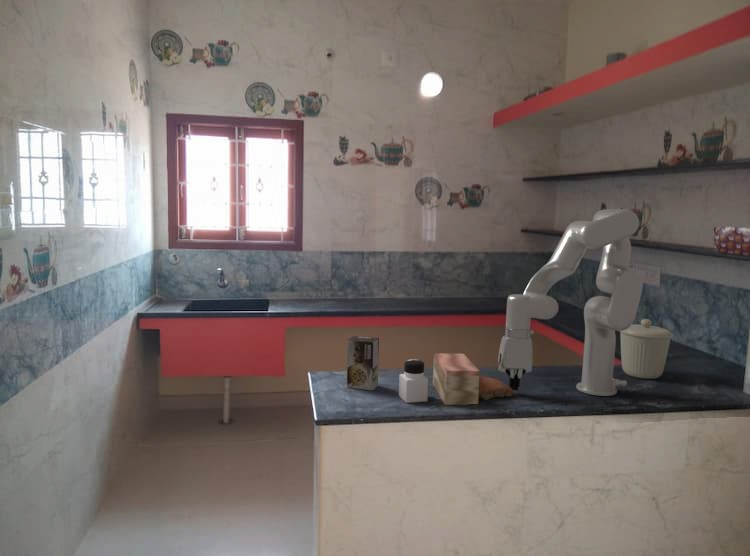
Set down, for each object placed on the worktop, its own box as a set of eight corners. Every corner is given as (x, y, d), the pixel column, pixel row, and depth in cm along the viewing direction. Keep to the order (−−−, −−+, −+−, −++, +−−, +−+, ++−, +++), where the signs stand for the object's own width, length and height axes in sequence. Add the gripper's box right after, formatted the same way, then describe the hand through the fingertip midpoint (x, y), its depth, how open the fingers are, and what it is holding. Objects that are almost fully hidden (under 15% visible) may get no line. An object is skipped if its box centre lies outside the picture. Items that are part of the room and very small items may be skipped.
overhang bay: (461, 383, 194) (463, 353, 192) (477, 404, 173) (479, 371, 172) (432, 383, 193) (434, 353, 192) (445, 404, 172) (446, 370, 171)
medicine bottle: (428, 401, 174) (429, 363, 173) (405, 403, 172) (407, 364, 171) (419, 394, 181) (421, 357, 180) (398, 395, 179) (399, 358, 178)
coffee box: (378, 385, 189) (380, 337, 187) (372, 391, 183) (374, 341, 181) (352, 382, 192) (353, 335, 190) (345, 387, 186) (347, 339, 184)
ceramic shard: (450, 374, 187) (484, 375, 195) (448, 394, 186) (482, 394, 194) (481, 380, 174) (516, 381, 182) (479, 401, 174) (514, 401, 182)
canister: (635, 383, 201) (640, 324, 198) (605, 369, 218) (609, 314, 216) (680, 381, 205) (686, 323, 202) (646, 368, 222) (651, 314, 220)
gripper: (535, 331, 187) (532, 385, 189) (491, 330, 185) (488, 385, 187) (544, 336, 179) (540, 393, 181) (497, 335, 178) (494, 392, 180)
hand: (513, 389), depth 184 cm, fingers closed
